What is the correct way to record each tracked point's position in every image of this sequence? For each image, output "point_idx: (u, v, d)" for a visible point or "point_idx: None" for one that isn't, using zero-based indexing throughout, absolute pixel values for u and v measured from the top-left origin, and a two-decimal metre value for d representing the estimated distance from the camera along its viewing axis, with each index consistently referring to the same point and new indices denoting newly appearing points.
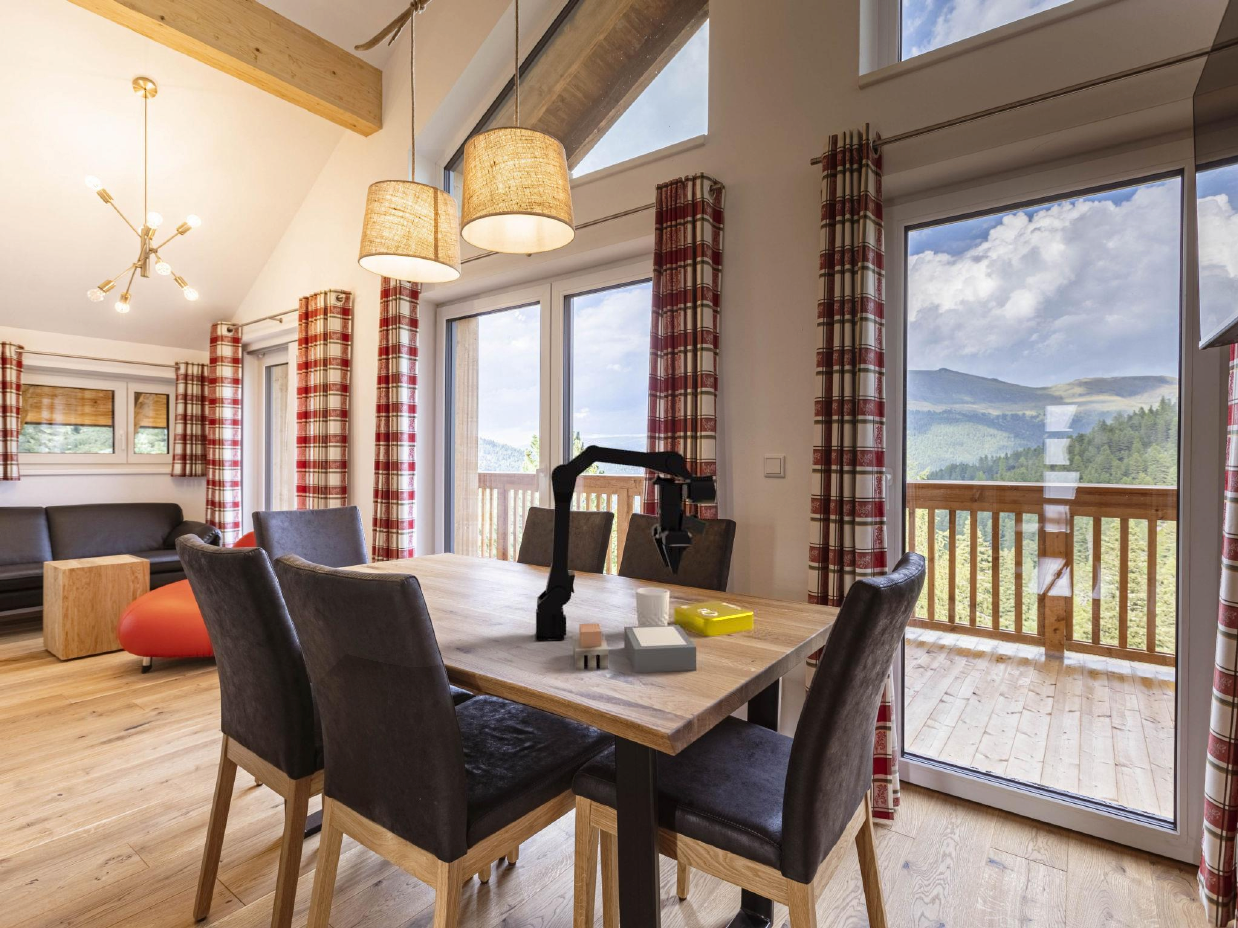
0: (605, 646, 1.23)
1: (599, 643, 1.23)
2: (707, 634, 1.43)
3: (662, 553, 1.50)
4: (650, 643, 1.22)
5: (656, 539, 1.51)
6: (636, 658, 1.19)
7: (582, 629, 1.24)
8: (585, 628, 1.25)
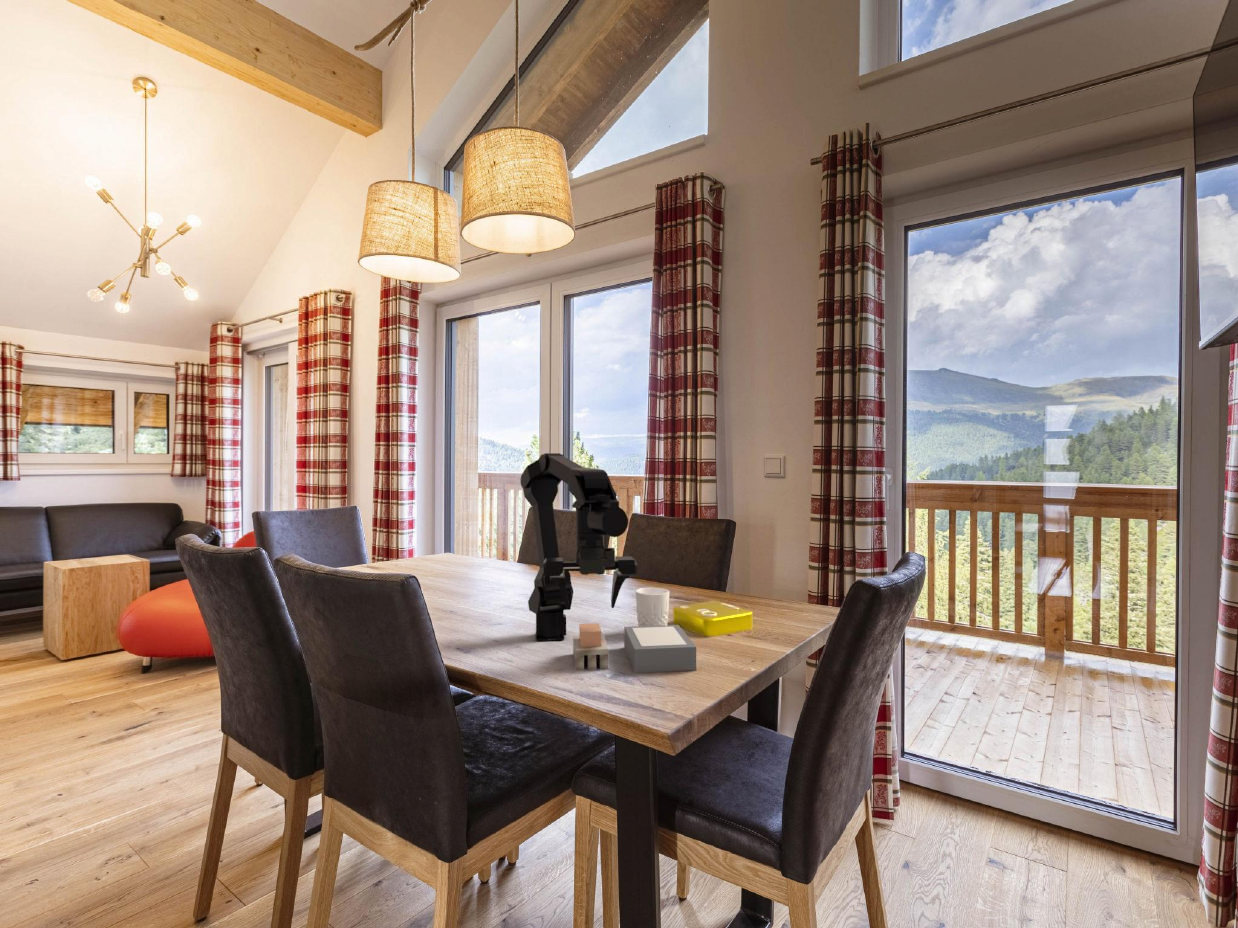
0: (605, 646, 1.23)
1: (599, 643, 1.23)
2: (707, 634, 1.43)
3: (612, 590, 1.28)
4: (650, 643, 1.22)
5: (613, 572, 1.29)
6: (636, 658, 1.19)
7: (582, 629, 1.24)
8: (585, 628, 1.25)
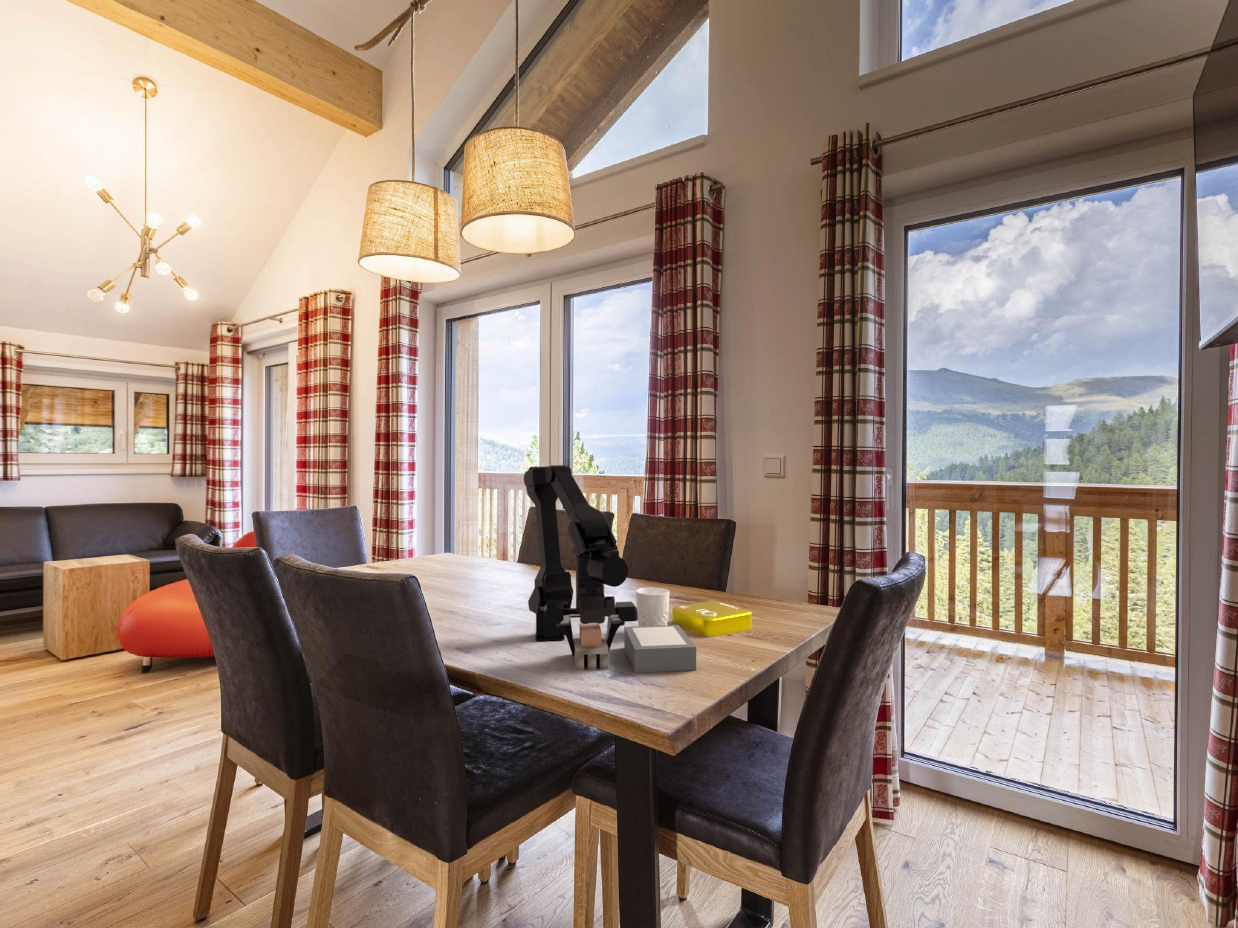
0: (605, 646, 1.23)
1: (599, 642, 1.23)
2: (707, 634, 1.43)
3: (606, 636, 1.27)
4: (650, 643, 1.22)
5: (608, 618, 1.29)
6: (636, 658, 1.19)
7: (582, 628, 1.24)
8: (585, 628, 1.25)
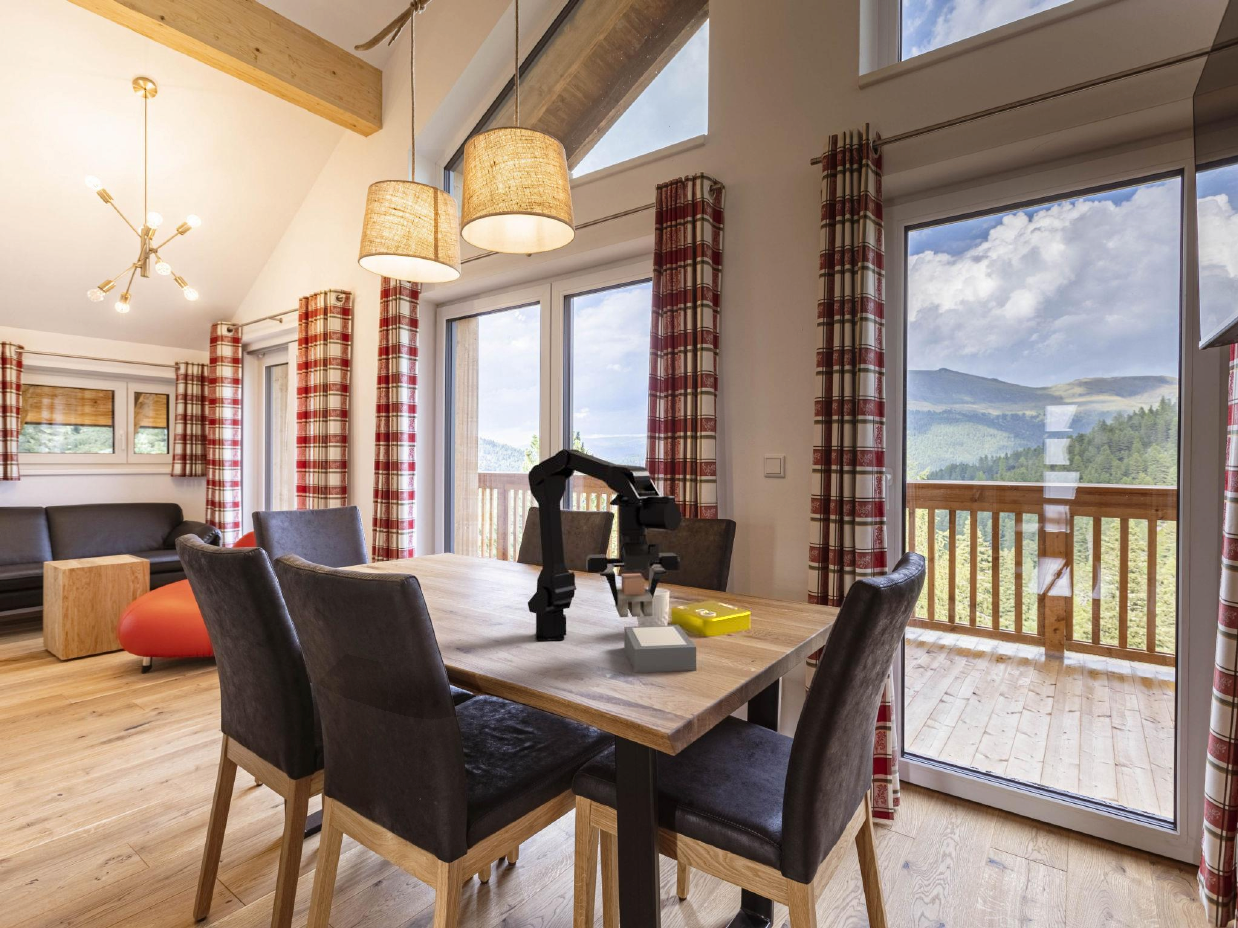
0: (649, 594, 1.23)
1: (642, 591, 1.24)
2: (706, 634, 1.43)
3: (648, 586, 1.28)
4: (650, 643, 1.22)
5: None
6: (636, 658, 1.19)
7: (625, 577, 1.25)
8: (628, 577, 1.25)
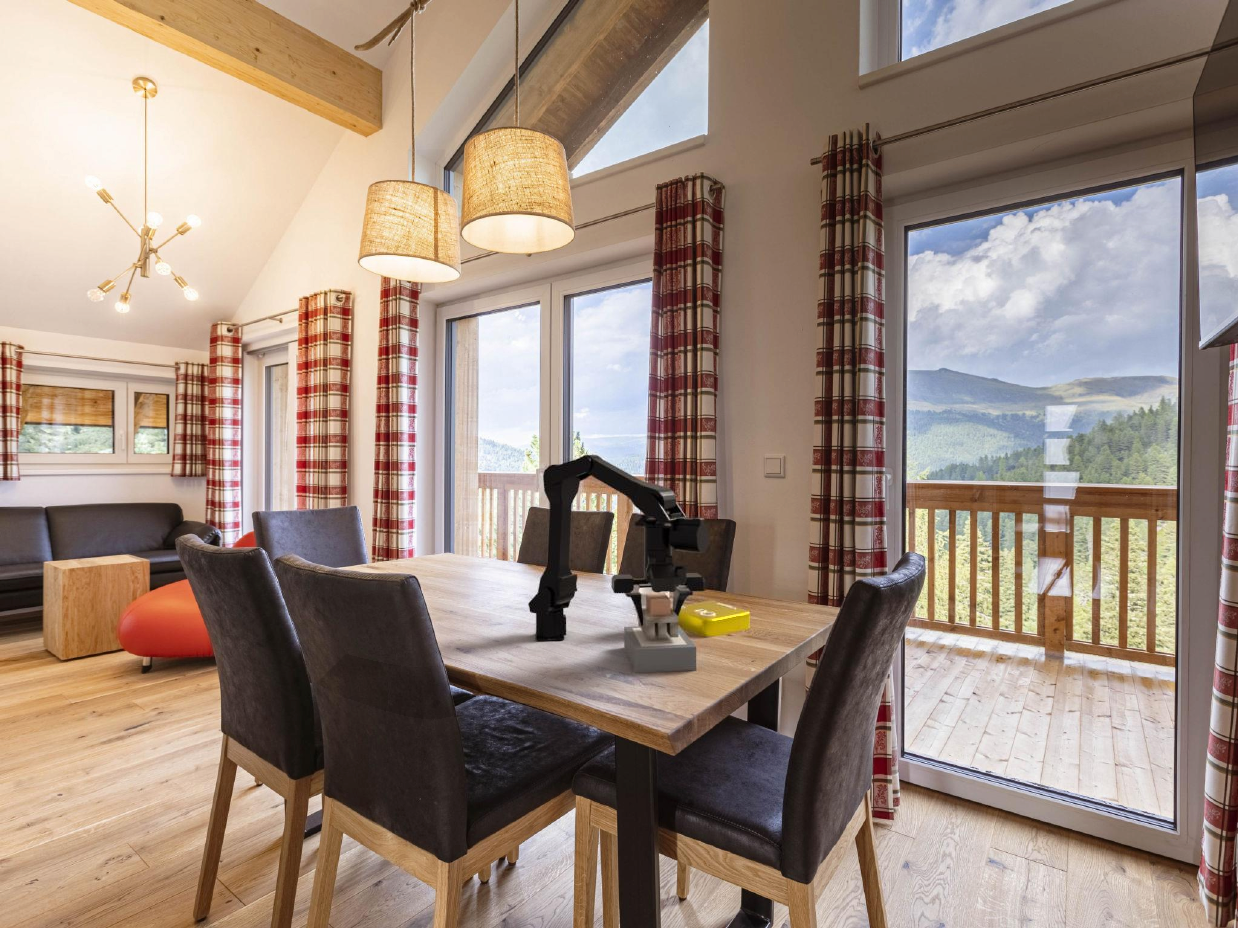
0: (675, 615, 1.24)
1: (668, 611, 1.25)
2: (706, 635, 1.43)
3: (673, 606, 1.29)
4: (650, 643, 1.22)
5: None
6: (636, 658, 1.19)
7: (651, 598, 1.26)
8: (654, 597, 1.26)
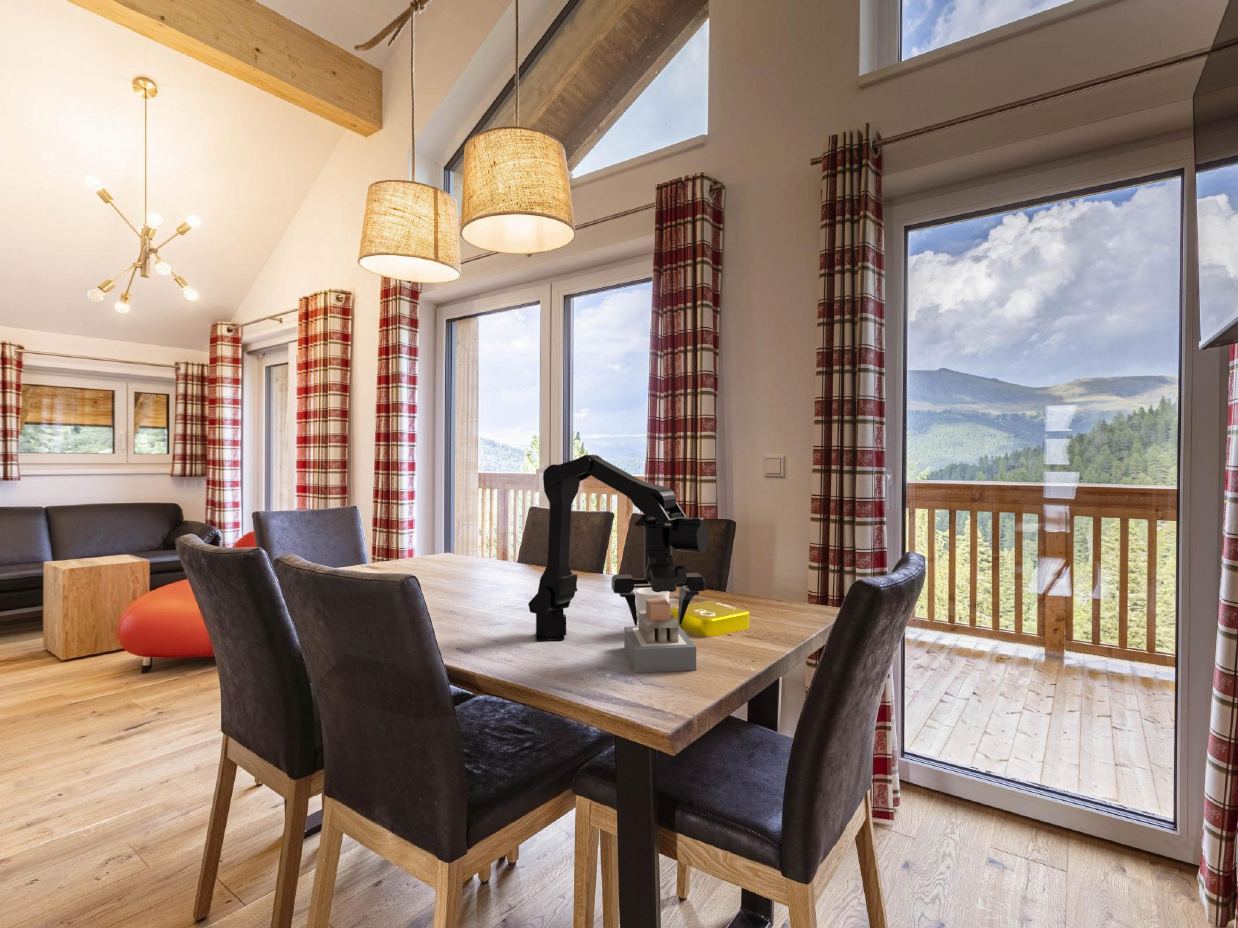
0: (674, 620, 1.24)
1: (668, 617, 1.25)
2: (706, 635, 1.43)
3: (679, 606, 1.29)
4: None
5: (679, 589, 1.31)
6: (636, 658, 1.19)
7: (651, 603, 1.26)
8: (654, 603, 1.26)
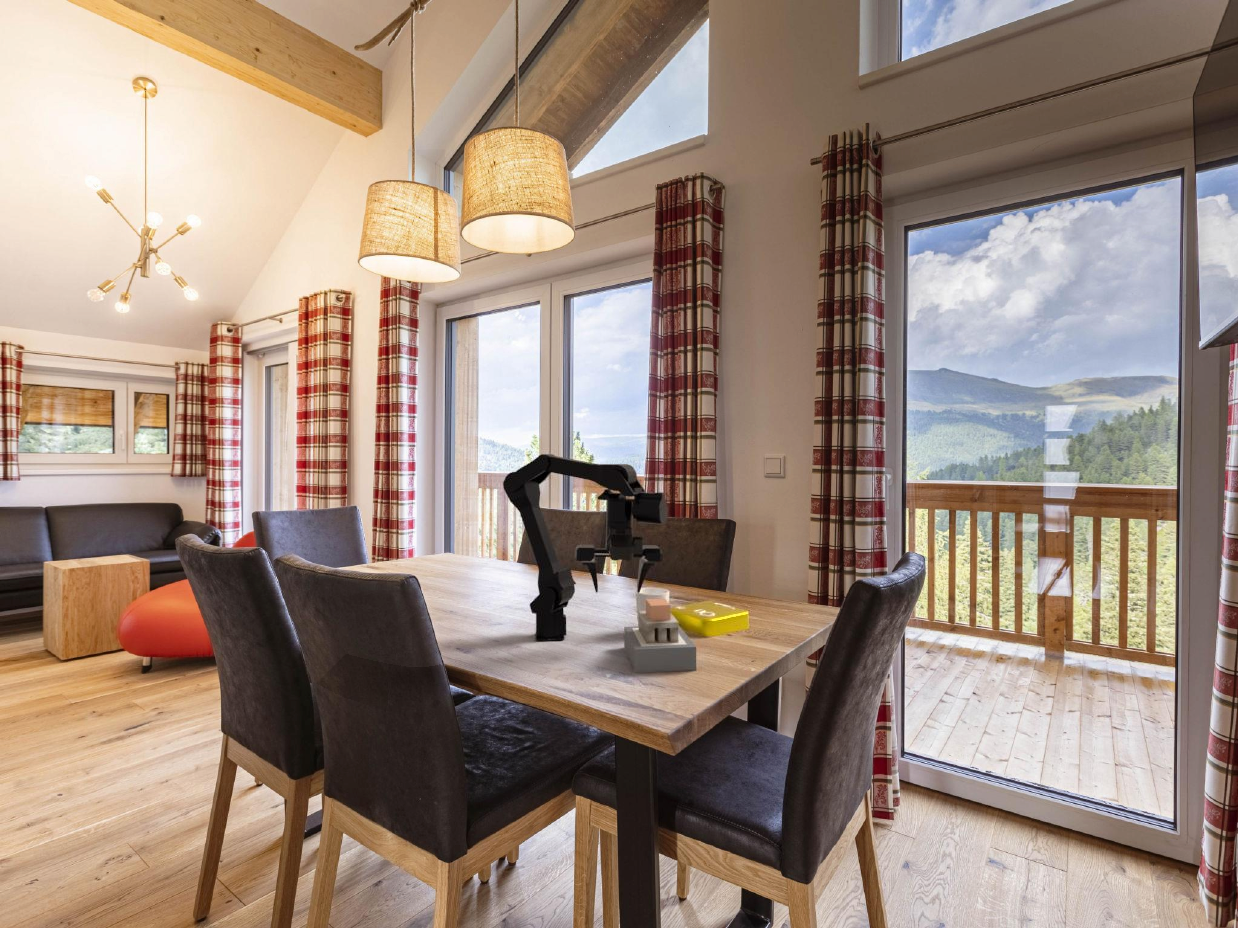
0: (674, 620, 1.24)
1: (668, 617, 1.25)
2: (706, 635, 1.43)
3: (638, 576, 1.38)
4: None
5: None
6: (636, 658, 1.19)
7: (651, 603, 1.26)
8: (654, 603, 1.26)
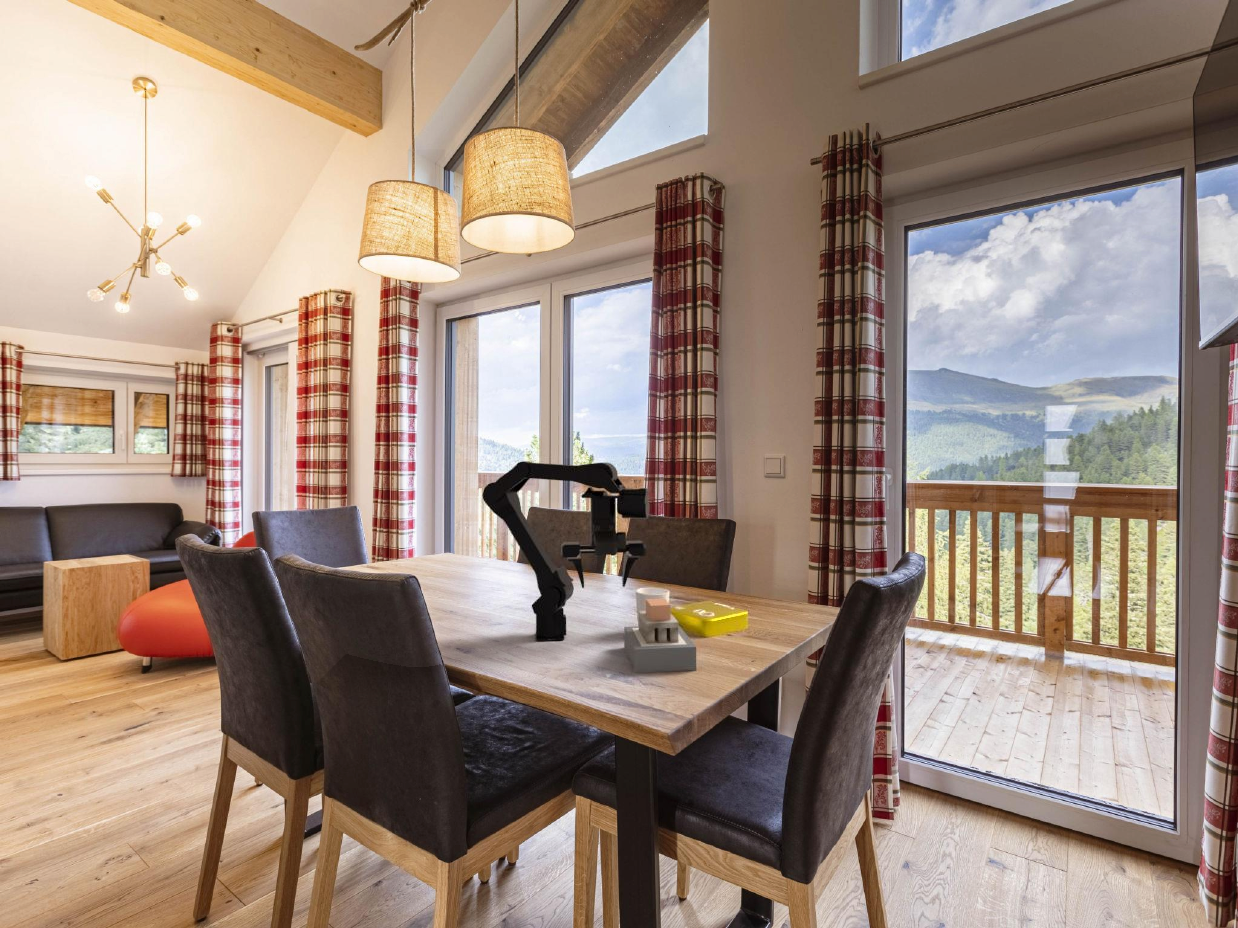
0: (674, 620, 1.24)
1: (668, 617, 1.25)
2: (706, 635, 1.43)
3: (623, 571, 1.42)
4: None
5: (624, 555, 1.43)
6: (636, 658, 1.19)
7: (651, 603, 1.26)
8: (654, 603, 1.26)
